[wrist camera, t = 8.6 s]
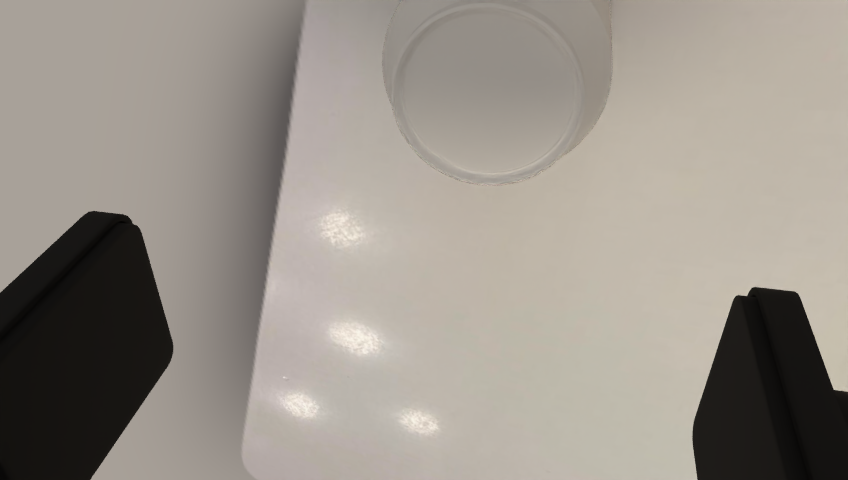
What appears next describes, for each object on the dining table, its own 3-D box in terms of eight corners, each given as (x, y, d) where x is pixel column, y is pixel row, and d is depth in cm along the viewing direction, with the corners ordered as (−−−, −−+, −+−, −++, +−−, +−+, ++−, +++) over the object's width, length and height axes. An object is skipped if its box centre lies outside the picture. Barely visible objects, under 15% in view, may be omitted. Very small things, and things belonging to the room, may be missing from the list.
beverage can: (495, 76, 30) (446, 237, 20) (415, -58, 27) (317, 54, 18) (635, 2, 27) (655, 150, 18) (561, -154, 25) (537, -82, 15)
